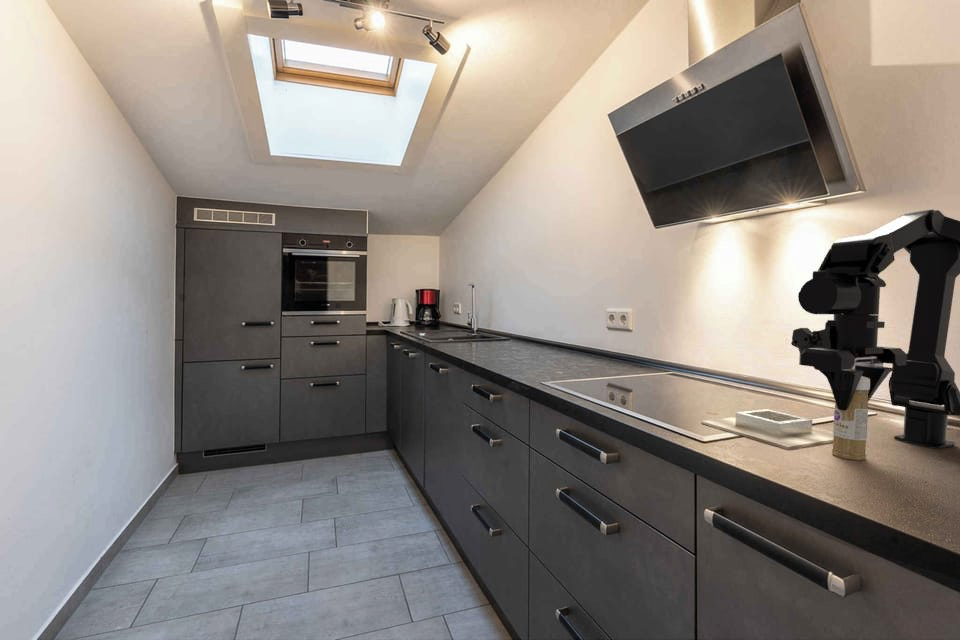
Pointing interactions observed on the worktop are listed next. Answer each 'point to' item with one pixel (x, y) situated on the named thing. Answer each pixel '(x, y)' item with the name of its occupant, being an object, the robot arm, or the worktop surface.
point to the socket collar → (774, 422)
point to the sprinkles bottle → (852, 425)
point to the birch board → (784, 442)
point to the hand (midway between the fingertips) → (850, 408)
